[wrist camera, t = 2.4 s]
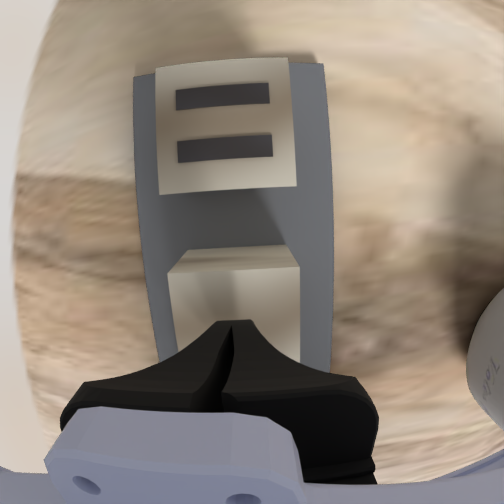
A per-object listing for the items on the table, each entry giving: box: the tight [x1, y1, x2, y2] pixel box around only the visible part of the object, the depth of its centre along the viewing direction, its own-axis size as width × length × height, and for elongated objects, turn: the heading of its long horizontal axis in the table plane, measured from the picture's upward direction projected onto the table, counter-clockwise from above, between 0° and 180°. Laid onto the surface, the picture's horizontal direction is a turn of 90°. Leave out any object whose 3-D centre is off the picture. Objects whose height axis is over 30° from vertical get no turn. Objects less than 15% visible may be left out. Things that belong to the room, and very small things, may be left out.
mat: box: [133, 63, 334, 373], centre depth 17 cm, size 24×10×1 cm, turn 3°
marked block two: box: [155, 57, 297, 195], centre depth 13 cm, size 5×5×5 cm
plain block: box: [167, 245, 300, 363], centre depth 15 cm, size 5×5×4 cm
